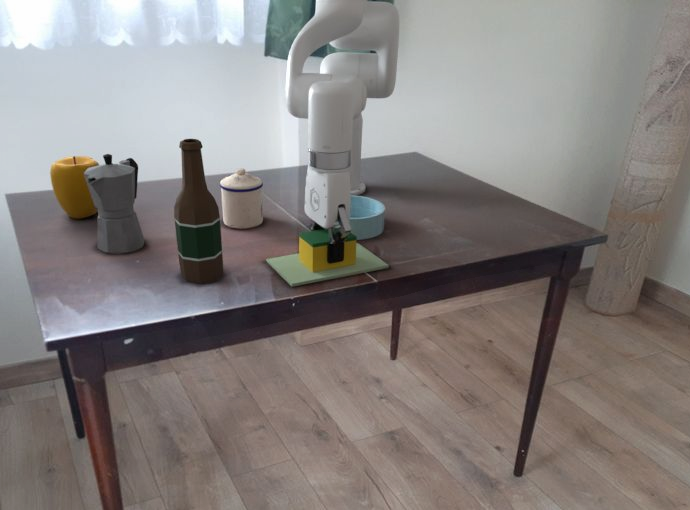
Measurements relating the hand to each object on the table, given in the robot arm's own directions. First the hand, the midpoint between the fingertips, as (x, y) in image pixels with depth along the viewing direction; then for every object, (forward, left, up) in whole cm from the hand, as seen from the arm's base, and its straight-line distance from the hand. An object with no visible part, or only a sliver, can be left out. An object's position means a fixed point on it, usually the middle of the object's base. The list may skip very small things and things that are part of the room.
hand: (327, 254), depth 119 cm
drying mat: (0, 0, -2) cm, 2 cm away
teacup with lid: (-29, +9, -2) cm, 30 cm away
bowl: (-7, +19, -2) cm, 20 cm away
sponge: (0, 0, -2) cm, 2 cm away
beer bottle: (-16, -17, -2) cm, 24 cm away
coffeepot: (-39, -15, -2) cm, 42 cm away
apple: (-59, -9, -2) cm, 60 cm away
